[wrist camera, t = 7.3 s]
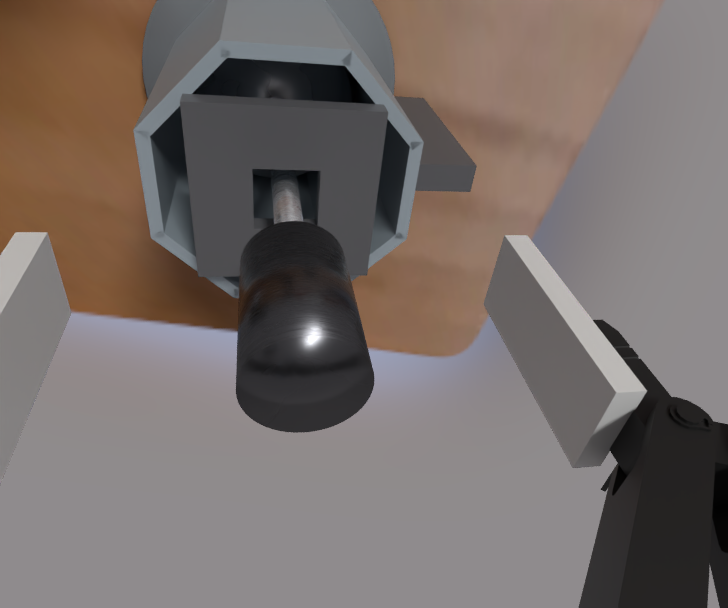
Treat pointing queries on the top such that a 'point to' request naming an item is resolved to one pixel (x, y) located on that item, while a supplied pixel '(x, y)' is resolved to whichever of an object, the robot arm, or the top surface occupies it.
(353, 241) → the carafe
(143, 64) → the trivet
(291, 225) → the plunger
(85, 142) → the top surface
